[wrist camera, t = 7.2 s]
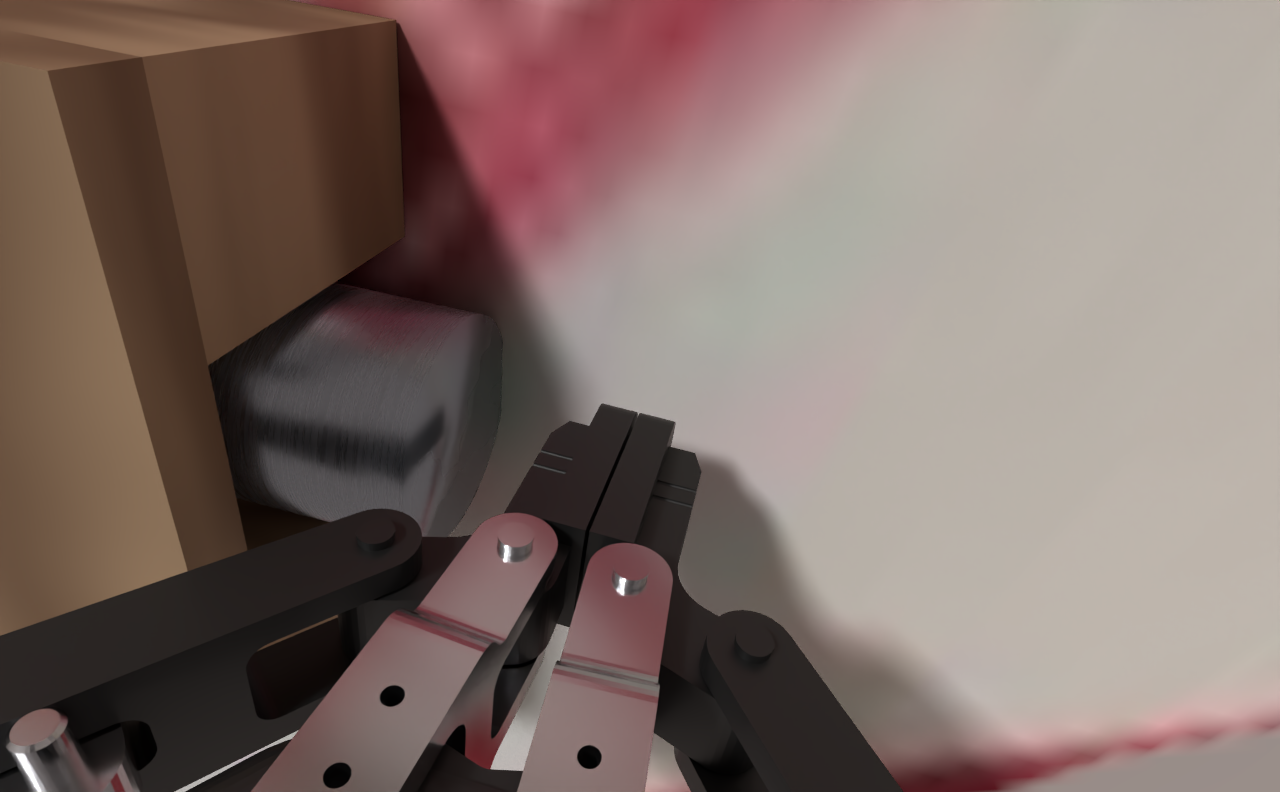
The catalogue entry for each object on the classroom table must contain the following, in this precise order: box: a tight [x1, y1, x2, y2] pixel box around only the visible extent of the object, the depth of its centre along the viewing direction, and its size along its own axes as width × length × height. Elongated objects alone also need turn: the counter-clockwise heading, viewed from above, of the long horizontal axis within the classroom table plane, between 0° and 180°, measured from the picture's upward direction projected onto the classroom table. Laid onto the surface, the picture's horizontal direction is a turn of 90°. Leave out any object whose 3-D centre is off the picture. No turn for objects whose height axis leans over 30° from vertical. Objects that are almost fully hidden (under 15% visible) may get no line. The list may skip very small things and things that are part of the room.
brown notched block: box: [0, 0, 405, 651], centre depth 14 cm, size 5×12×7 cm, turn 172°
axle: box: [208, 282, 503, 537], centre depth 16 cm, size 14×5×5 cm, turn 82°
